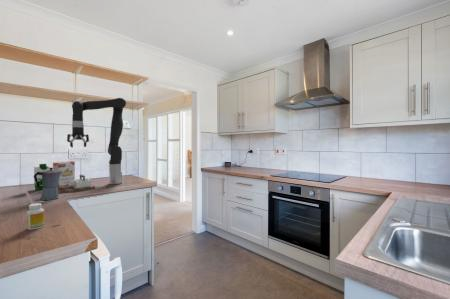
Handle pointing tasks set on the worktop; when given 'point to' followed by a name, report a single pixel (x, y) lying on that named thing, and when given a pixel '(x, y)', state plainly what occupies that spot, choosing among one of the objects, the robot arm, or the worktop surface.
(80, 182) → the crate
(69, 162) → the cracker box
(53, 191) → the moka pot
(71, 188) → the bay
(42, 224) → the supplement bottle
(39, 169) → the milk carton
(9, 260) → the worktop surface
